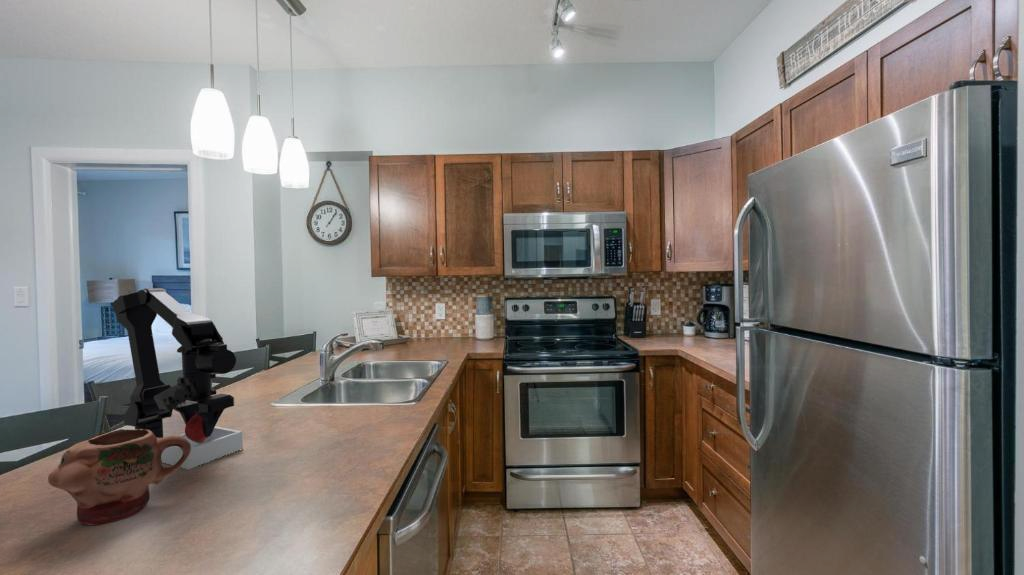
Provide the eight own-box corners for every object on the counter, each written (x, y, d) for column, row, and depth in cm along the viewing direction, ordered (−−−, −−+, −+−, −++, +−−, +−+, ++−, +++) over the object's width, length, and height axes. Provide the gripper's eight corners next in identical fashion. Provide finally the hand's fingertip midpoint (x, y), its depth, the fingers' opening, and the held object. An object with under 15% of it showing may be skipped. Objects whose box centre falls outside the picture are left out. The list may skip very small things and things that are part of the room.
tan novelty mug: (188, 480, 95) (185, 415, 94) (197, 500, 86) (193, 428, 85) (53, 516, 81) (49, 441, 81) (47, 545, 72) (42, 460, 72)
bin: (156, 461, 105) (155, 442, 105) (211, 442, 117) (210, 425, 117) (188, 469, 100) (187, 449, 100) (243, 449, 112) (242, 431, 111)
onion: (199, 448, 105) (198, 414, 105) (179, 447, 106) (177, 413, 106) (220, 439, 111) (219, 407, 111) (200, 438, 112) (199, 406, 112)
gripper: (136, 375, 105) (139, 441, 105) (183, 381, 97) (187, 452, 97) (187, 366, 115) (190, 426, 115) (234, 371, 107) (237, 435, 107)
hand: (199, 434), depth 108 cm, fingers closed on onion, 6 cm apart
